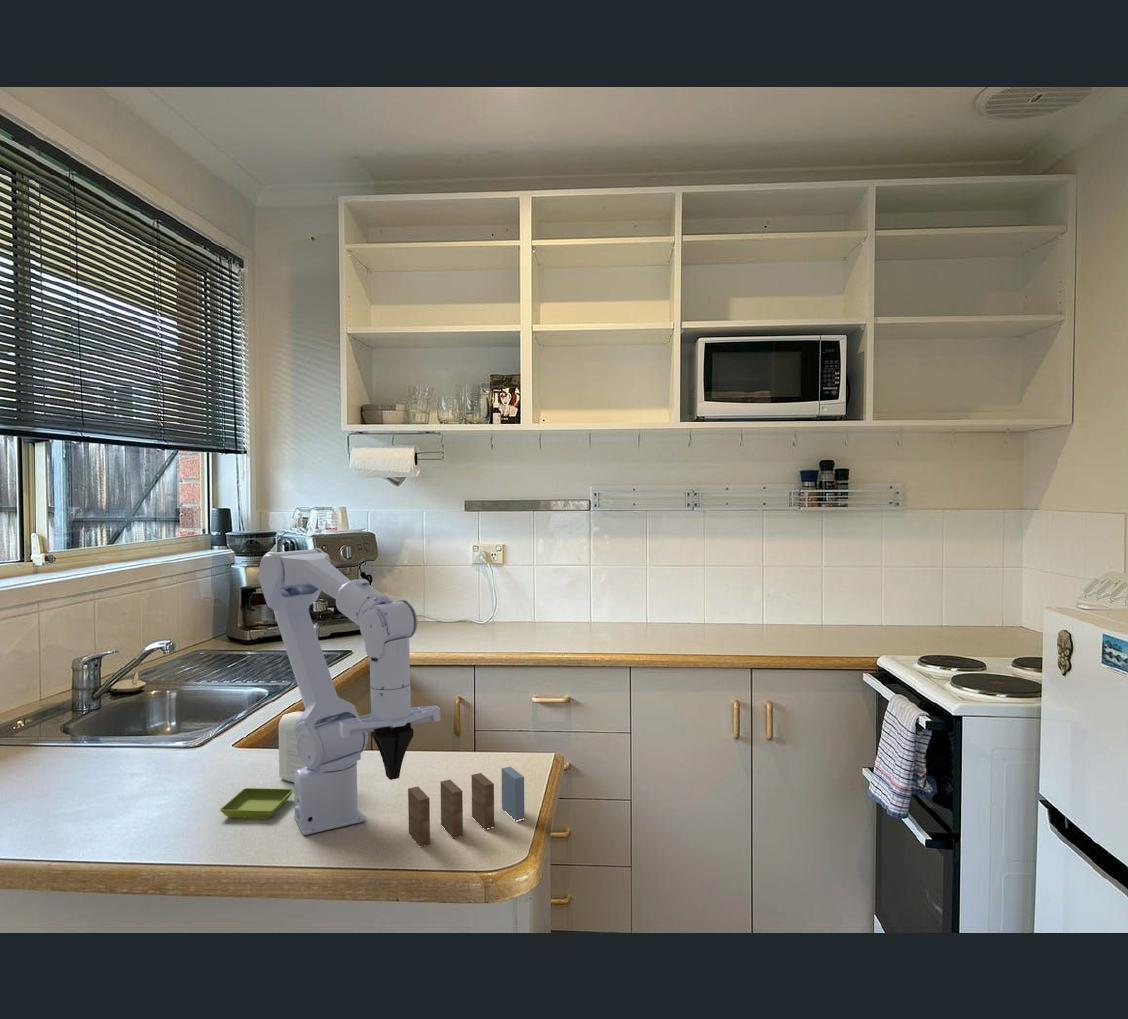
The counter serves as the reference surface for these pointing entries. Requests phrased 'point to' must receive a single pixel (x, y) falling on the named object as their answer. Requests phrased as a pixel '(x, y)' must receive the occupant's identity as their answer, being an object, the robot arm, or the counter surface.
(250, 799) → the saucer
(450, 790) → the domino
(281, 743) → the white rounded tombstone
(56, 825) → the counter surface
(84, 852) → the counter surface
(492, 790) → the domino
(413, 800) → the domino
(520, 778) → the end domino
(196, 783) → the counter surface
